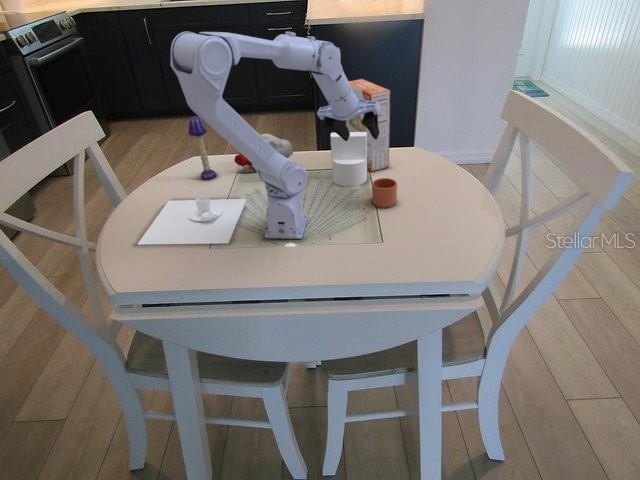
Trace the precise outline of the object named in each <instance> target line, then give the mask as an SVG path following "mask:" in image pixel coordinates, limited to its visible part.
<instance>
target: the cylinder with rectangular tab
mask: <svg viewBox="0 0 640 480" xmlns="http://www.w3.org/2000/svg"><path fill="white" fill-rule="evenodd" d="M349 133H350V136H349V138H348V141H345V140H344V139H342V138H341V137H340V136H339V135H338V134H337V133H335V132H331V133H330V153H331V155H330V156H331V176H332V182H333V183H334V184H335V185H337V186H342V187H356V186H360V185H363V184H364V183H366V182H367V180H368V169H367V132H349Z"/></svg>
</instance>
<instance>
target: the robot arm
mask: <svg viewBox="0 0 640 480" xmlns="http://www.w3.org/2000/svg"><path fill="white" fill-rule="evenodd" d="M341 55H342V54H341V49H340V47H338V46H336V45H335V44H334V43H333V42H331V41H326V40H319V39H316V37H315V36H311V35H307V36H306V37H301V36H297V33H296V32H293V31H285V33H282V34H281V33H280V34H279V35H277V36H276V37H275V38H274V39H273V40H270V39H266V38H259V37H255V36H250V35H244V34H238V33H232V32H225V31H224V32H223V31H222V32H221V31H199V32H198V33H195V32H192V31H182V32H180V33H178V34H177V35H176V36H175V37H174V38H173V40H172V42H171V46H170V67H171V68H172V71H173V72H174V74H175V75H176V77H177V79H178V82H179V84H180V88H181V91H182V93H183V95H184V97H185V101H186V104H187V106H188V107H189V108H190V110H191V111H192V112H193V113H194V114H196V116H199V117H200V118H201V119H202V121H203V122H205V123H206V124H207V125H208V126H209V127H210V128H212V129H213V131H215V132H216V133H217V134H218V135H219V136H221V137H222V139H224V140H225V141H227V142H228V143H229V144H230V145H231V146H232V147H233V148H234V149H235V150H237V152H239V154H240V153H241V154H242V155H244V156H245V157H246V158H247V159H248V160H249V161H250V162H252V166H251V167H252V168H253V169H254V170H255V171H256V173H257V176H258V178H259V180H260V181H262V182H263V183H264V188H265V190H266V196H267V204H268V205H267V208H266V211H265V217H266V224H267V229H266V232H265V234H264V238H265V239H285V240H287V239H289V240H291V239H293V240H301V239H303V236H304V233H305V229H306V225H307V222H308V219H309V215H308V214H304V210H303V209H304V208H303V198H302V192H303V189H304V188H305V186H306V184H307V181H308V173H307V170H306V168H305V167H304V166H303V165H301V164H298V163H295V162H292V161H291V160H290V159H289V158H286V157H284V156H283V155H281V154H280V153H278V152H277V151H276V150H275V149H274V148H273V147H272V146H271V145H270V144H268V143H267V142H266V141H265V140H264V139H263V138H262V137H261V136H260V135H261V134H259V133H258V131H256V129H254V128H253V126H251V124H249V123H248V121H246V120H245V119H244V118H243V117H242V116H241V115H240V114H239V113H238V112H237V111H236V110H235V109H234V108H233V107H232V106H231V105H229V103H228V102H227V101H225V99H224V98H223V95H224V91H225V88H226V84H227V81H228V78H229V74H230V71H231V69H232V66H237V65H238V63H239V62H240V59H241V58H252V59H261V60H271V61H272V62H273V64H274V65H275V66H276V67H277V68H279V69H286V70H294V71H295V70H296V71H306V72H307V71H310V72H311V75H312V77H313V78H314V80H315V82H316V84H317V86H318V87H319V89H320V90H321V92H322V94H323V96H324V98H325V100H326V102H327V103H328V105H326V106H325V105H324V106H320V107H319V108H318V111H317V113H316V114H317V117H318V118H319V120H323V121H324V124H323V125H324V128H325V129H328V130H330V131H332V132H333V133H337V134H338V135H339V136H340V137H341V138H342V139H344V140H345V141H348V138H349V136H350V133H349V130H348V128H347V126H346V120H347V119H350V118H353V117H356V116H359V115H361V114H364V117H363V120H362V122H361V123H362V124H363V125H364V126H365V127H366V128H367V129H368V130H369V131H370V133H371V135H372V137H373V138H374V139H377V138H378V136H379V133H380V132H379V127H378V114H379V112H380V109H381V106H380V104H379V102H378V101H369V100H364V99H359V98H356V95H355V94H354V92H353V90H352V88H351V86H350V84H349V82H348V81H349V79H348V78H347V76H346V74H345V71H344V68H343V66H342V63H341Z"/></svg>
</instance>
